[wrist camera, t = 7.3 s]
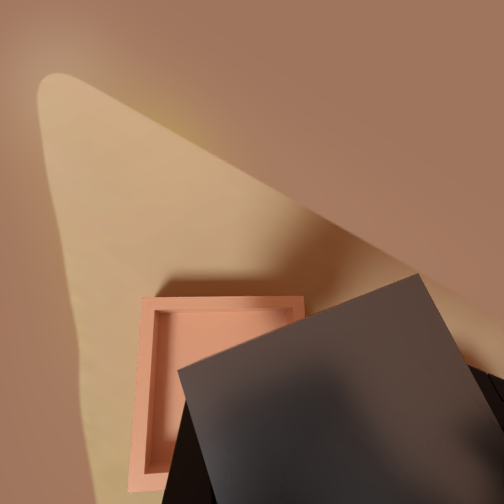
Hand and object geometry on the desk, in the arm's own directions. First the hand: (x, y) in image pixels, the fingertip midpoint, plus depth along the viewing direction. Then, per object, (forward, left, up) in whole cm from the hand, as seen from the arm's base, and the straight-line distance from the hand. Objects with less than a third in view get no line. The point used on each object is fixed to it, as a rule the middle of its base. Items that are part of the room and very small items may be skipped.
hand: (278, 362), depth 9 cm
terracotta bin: (-2, +1, -14) cm, 14 cm away
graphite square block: (-1, 0, -7) cm, 7 cm away
